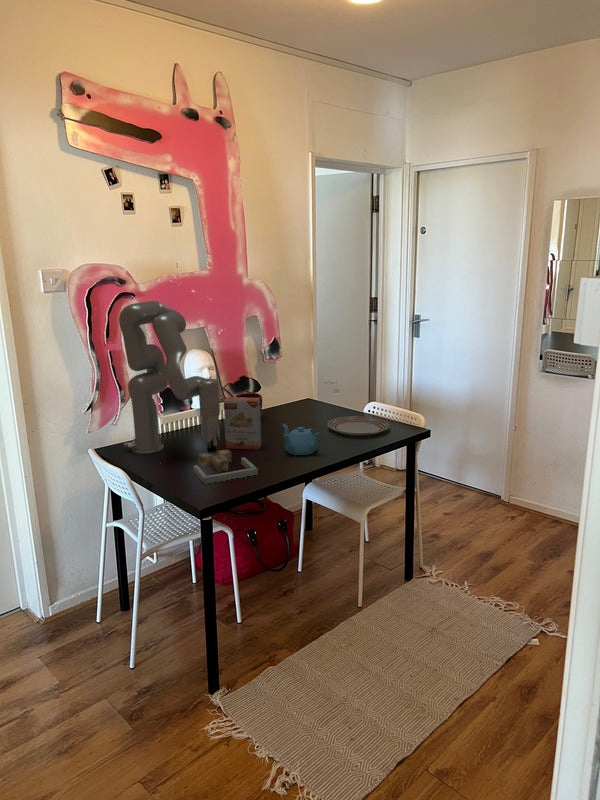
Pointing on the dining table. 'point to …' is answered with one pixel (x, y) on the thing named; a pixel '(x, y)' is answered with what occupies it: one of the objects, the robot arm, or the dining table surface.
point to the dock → (249, 471)
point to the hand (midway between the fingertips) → (212, 456)
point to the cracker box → (242, 423)
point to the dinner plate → (358, 425)
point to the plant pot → (252, 395)
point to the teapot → (300, 441)
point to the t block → (216, 459)
